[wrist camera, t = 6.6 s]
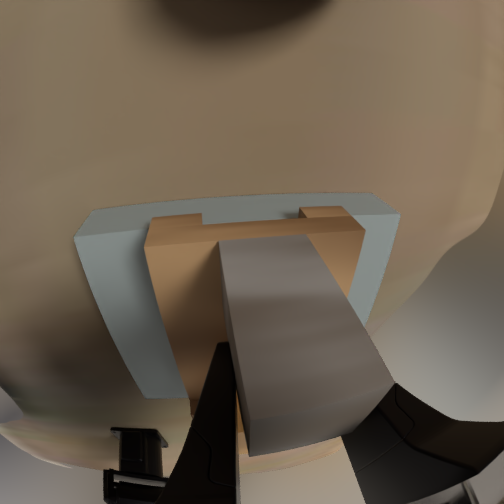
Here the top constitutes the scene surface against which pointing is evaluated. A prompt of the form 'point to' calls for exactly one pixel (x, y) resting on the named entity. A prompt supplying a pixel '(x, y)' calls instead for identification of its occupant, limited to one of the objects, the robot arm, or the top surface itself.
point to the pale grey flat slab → (213, 212)
